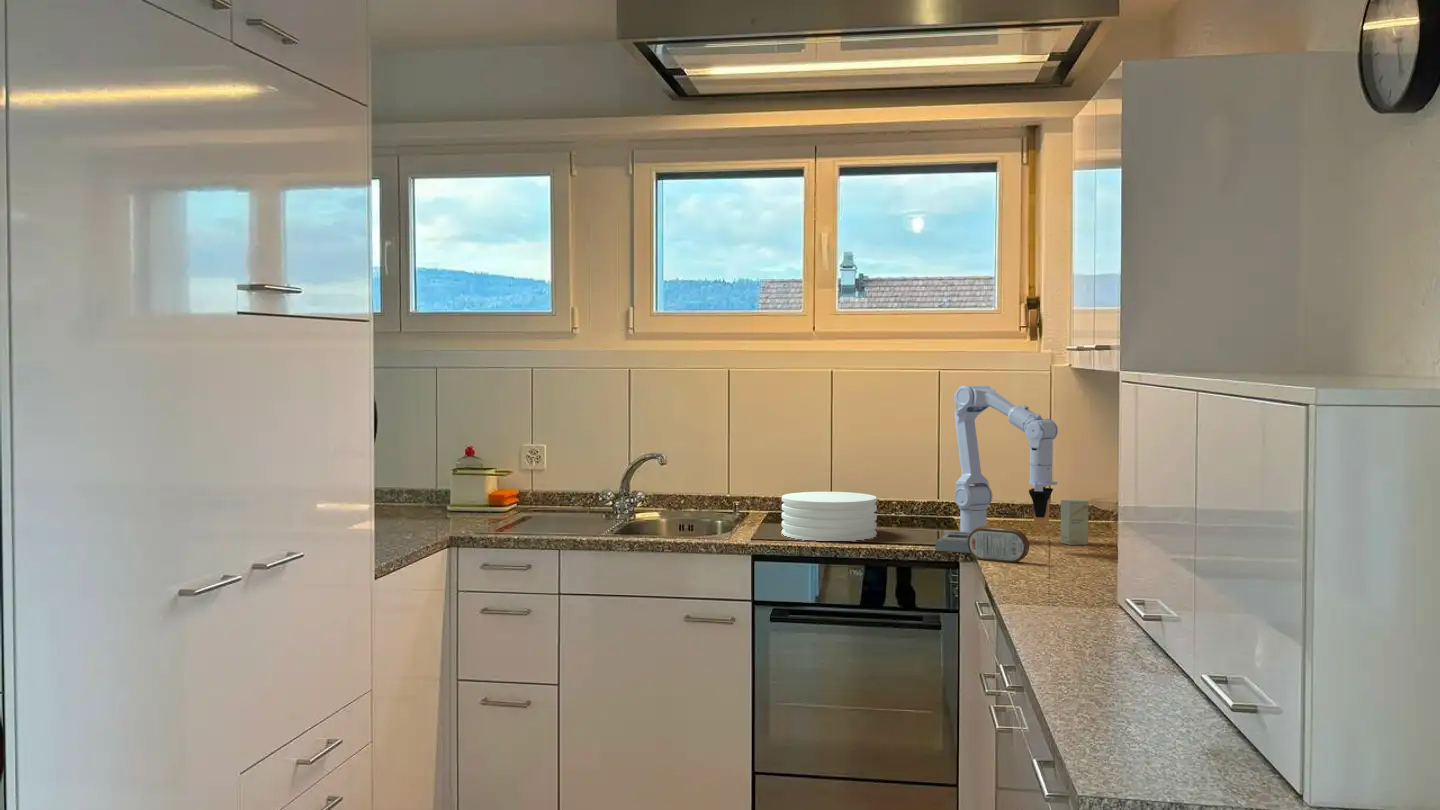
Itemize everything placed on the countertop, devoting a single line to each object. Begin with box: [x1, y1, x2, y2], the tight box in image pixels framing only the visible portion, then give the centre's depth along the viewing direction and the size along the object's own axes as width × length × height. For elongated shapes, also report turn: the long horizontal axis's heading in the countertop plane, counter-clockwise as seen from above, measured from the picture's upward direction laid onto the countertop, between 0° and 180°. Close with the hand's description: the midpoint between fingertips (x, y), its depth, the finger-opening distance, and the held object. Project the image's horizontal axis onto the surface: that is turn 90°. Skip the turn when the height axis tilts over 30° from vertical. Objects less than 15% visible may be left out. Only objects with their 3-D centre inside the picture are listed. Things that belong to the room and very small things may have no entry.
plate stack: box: [781, 491, 878, 542], centre depth 286 cm, size 28×28×12 cm
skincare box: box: [1060, 499, 1090, 546], centre depth 268 cm, size 6×4×12 cm
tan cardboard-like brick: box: [1033, 499, 1050, 526], centre depth 255 cm, size 4×4×6 cm
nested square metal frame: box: [935, 529, 971, 554], centre depth 260 cm, size 12×10×4 cm
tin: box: [967, 525, 1030, 564], centre depth 242 cm, size 15×3×8 cm, turn 59°
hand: (1040, 516), depth 255 cm, fingers closed on tan cardboard-like brick, 3 cm apart
